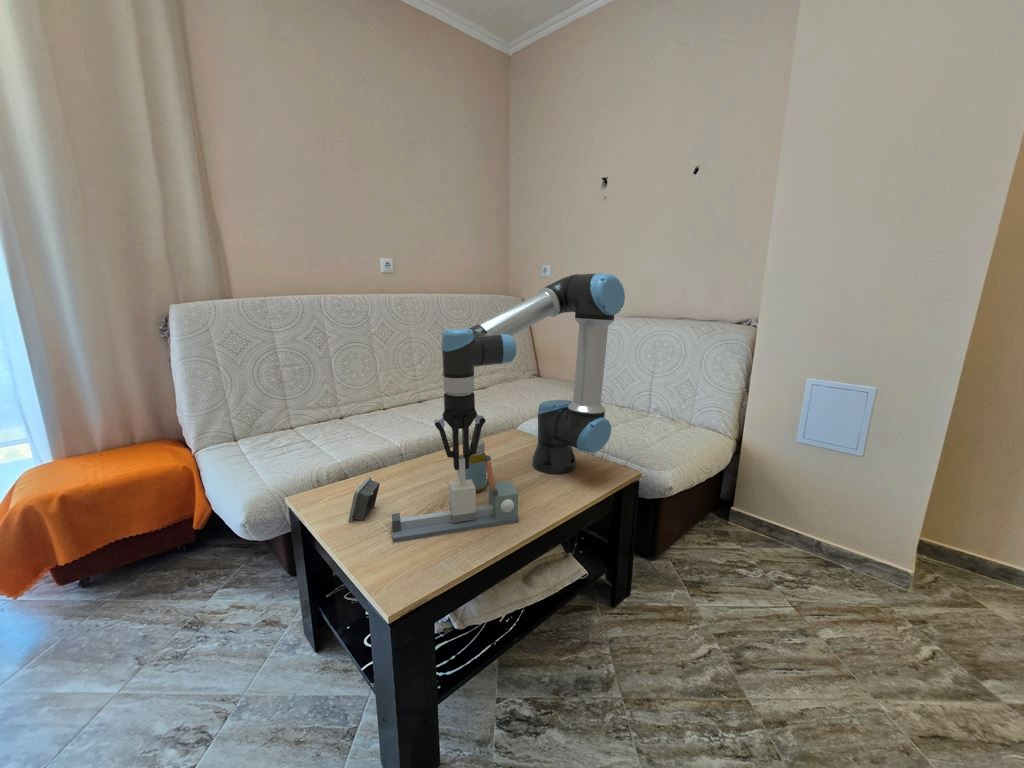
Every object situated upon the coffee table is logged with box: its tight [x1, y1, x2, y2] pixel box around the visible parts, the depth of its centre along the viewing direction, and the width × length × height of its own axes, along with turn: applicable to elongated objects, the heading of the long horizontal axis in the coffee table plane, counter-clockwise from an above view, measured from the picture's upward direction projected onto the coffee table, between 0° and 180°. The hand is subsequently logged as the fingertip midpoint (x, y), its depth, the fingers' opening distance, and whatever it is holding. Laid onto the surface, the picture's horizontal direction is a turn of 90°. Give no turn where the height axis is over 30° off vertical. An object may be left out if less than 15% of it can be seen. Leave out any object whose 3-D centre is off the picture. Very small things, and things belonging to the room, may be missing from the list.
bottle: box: [465, 438, 487, 493], centre depth 128 cm, size 7×7×15 cm
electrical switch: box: [348, 476, 381, 522], centre depth 114 cm, size 9×5×9 cm, turn 176°
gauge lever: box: [484, 454, 495, 491], centre depth 110 cm, size 2×4×9 cm, turn 17°
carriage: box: [448, 479, 477, 523], centre depth 109 cm, size 6×5×9 cm
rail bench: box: [391, 478, 519, 544], centre depth 109 cm, size 32×9×10 cm, turn 107°
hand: (461, 480), depth 108 cm, fingers closed
